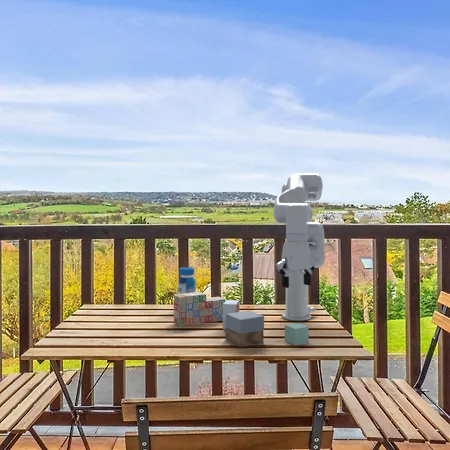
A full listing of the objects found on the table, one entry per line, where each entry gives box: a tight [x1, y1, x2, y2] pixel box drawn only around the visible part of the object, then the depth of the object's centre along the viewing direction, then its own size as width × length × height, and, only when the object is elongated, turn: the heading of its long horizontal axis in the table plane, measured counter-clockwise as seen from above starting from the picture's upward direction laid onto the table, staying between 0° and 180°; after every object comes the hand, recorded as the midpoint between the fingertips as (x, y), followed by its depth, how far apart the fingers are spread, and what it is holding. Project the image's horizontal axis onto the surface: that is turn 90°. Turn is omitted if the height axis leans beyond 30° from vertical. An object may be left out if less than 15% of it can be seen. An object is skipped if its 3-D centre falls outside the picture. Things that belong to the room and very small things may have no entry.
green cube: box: [284, 322, 309, 346], centre depth 166 cm, size 6×6×6 cm
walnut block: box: [225, 328, 265, 348], centre depth 167 cm, size 10×10×5 cm
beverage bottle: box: [177, 266, 197, 294], centre depth 214 cm, size 8×8×20 cm
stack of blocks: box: [173, 291, 226, 327], centre depth 194 cm, size 21×6×12 cm, turn 117°
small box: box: [222, 299, 240, 331], centre depth 185 cm, size 8×6×10 cm
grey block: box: [226, 310, 265, 334], centre depth 166 cm, size 10×10×5 cm
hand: (296, 286), depth 165 cm, fingers open, 9 cm apart
